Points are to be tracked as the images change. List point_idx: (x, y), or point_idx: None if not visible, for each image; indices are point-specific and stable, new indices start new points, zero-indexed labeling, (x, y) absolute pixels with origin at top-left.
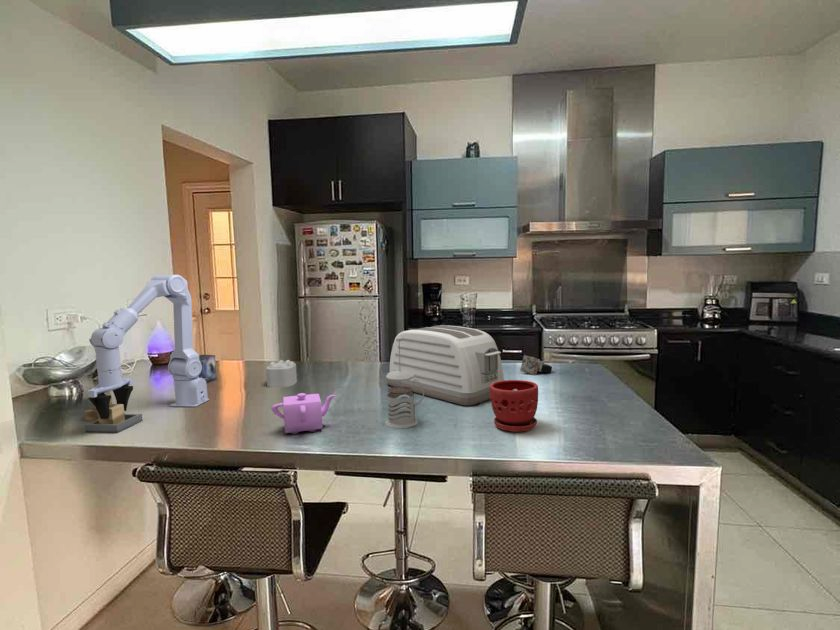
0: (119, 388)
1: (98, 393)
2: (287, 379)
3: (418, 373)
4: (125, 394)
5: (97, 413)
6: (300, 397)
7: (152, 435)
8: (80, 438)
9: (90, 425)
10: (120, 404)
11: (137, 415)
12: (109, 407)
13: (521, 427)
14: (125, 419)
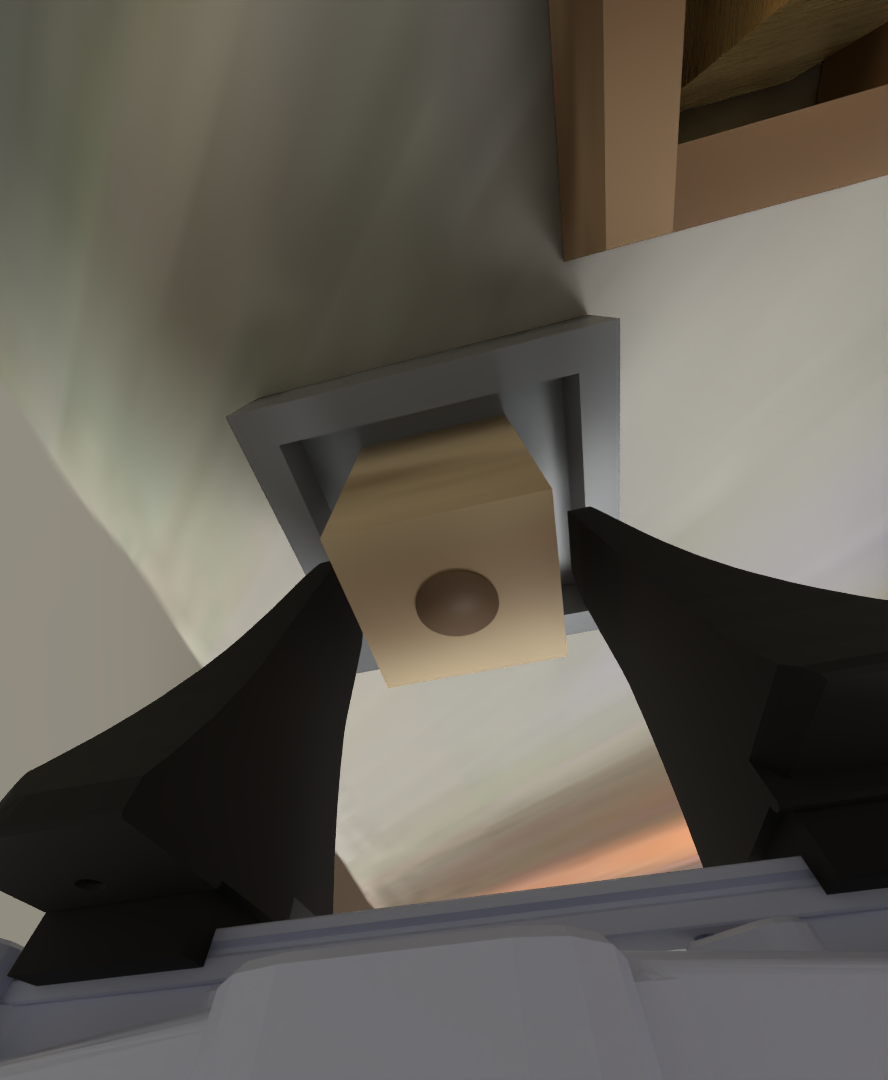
0: (751, 831)
1: (116, 1010)
2: None
3: None
4: (667, 761)
5: (589, 60)
6: None
7: (408, 775)
8: (172, 500)
9: (259, 476)
10: (550, 640)
11: (581, 622)
12: (418, 627)
13: None
14: (572, 496)
